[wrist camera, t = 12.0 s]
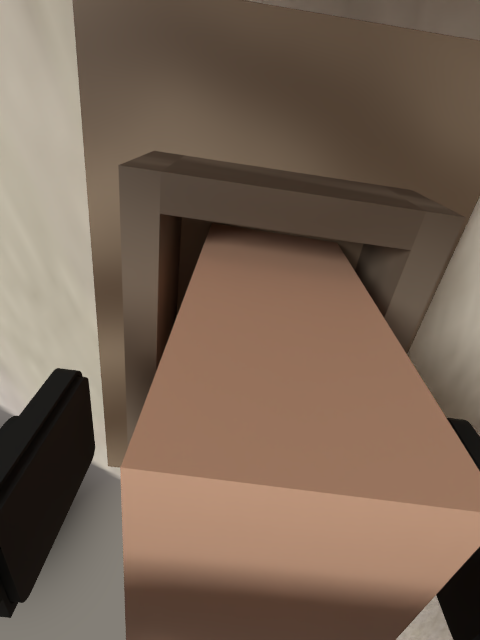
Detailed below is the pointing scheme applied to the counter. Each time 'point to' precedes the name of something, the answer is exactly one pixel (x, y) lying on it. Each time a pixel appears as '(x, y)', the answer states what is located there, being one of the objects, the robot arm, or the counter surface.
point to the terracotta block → (288, 460)
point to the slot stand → (263, 159)
